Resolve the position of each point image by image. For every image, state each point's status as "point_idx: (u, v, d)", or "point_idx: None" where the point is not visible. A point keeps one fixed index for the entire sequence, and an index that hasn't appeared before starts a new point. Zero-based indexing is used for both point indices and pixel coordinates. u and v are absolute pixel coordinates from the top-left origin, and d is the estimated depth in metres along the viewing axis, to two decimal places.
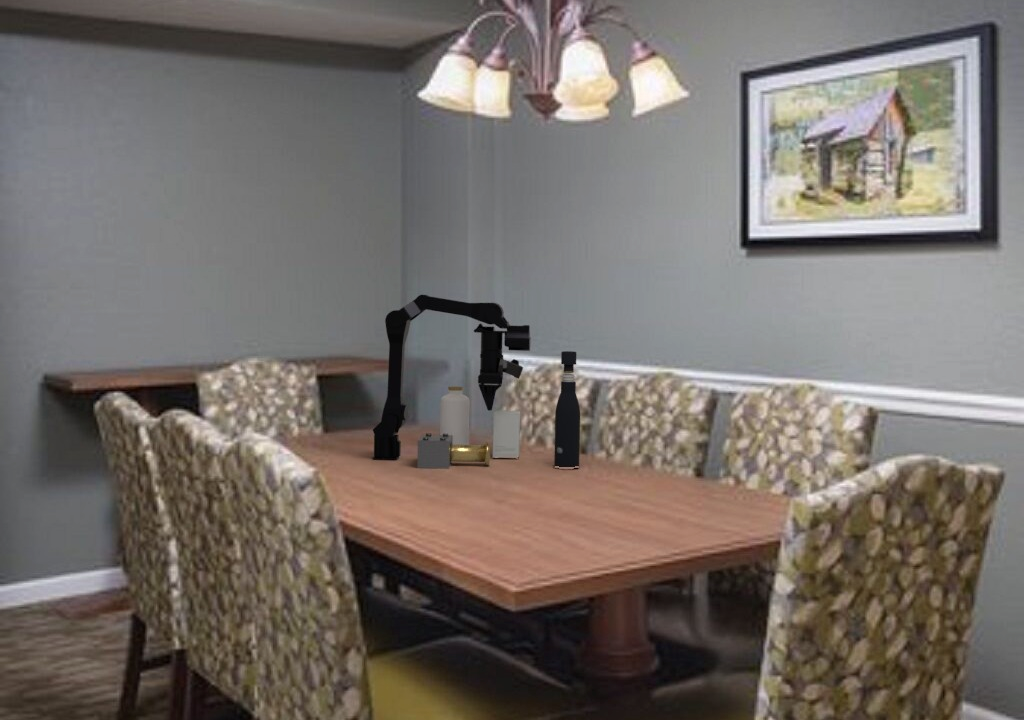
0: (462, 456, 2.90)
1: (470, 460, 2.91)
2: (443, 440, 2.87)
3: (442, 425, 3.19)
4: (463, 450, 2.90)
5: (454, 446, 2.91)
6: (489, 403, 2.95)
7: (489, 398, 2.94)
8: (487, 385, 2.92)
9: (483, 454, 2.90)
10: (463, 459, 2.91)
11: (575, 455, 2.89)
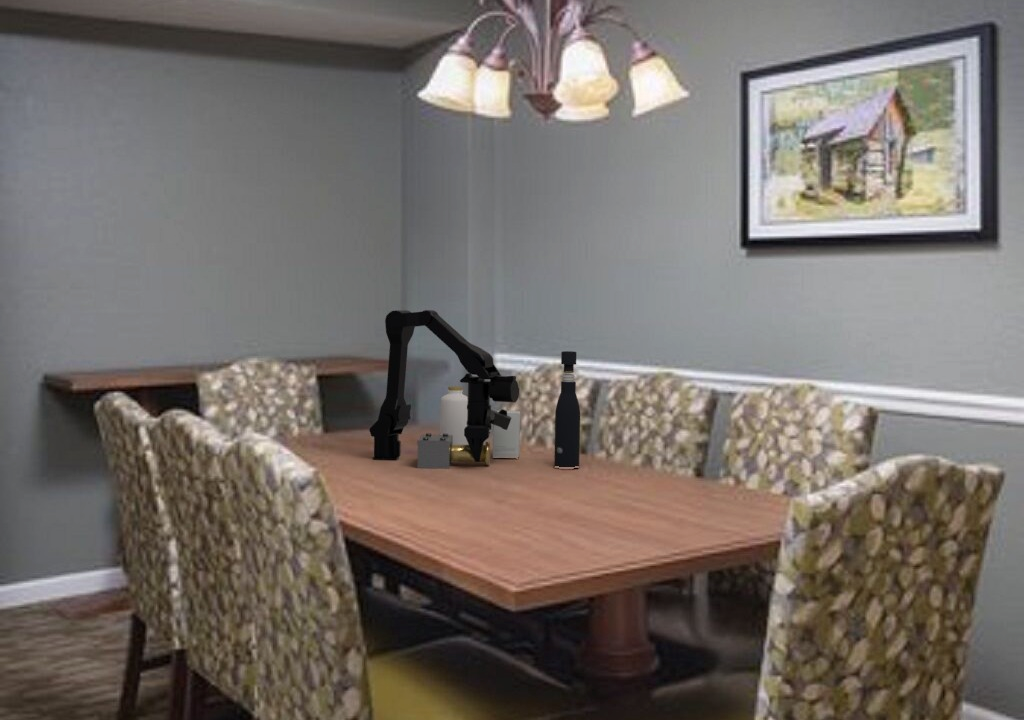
0: (462, 456, 2.90)
1: (470, 460, 2.91)
2: (443, 440, 2.87)
3: (442, 425, 3.19)
4: (463, 450, 2.90)
5: (454, 446, 2.91)
6: (476, 454, 2.89)
7: (476, 450, 2.89)
8: (474, 437, 2.86)
9: (483, 454, 2.90)
10: (463, 459, 2.91)
11: (575, 455, 2.89)
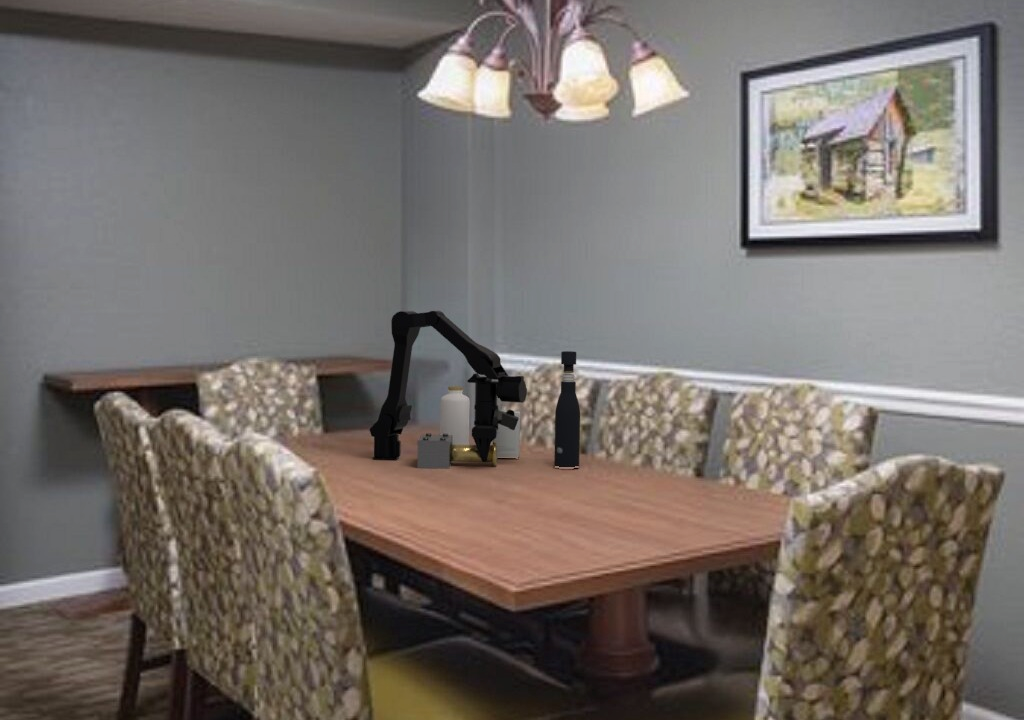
0: (470, 456, 2.90)
1: (477, 460, 2.91)
2: (443, 440, 2.87)
3: (442, 425, 3.19)
4: (470, 450, 2.90)
5: (461, 446, 2.91)
6: (484, 455, 2.89)
7: (484, 450, 2.89)
8: (481, 437, 2.86)
9: (490, 454, 2.90)
10: (470, 459, 2.91)
11: (575, 455, 2.89)
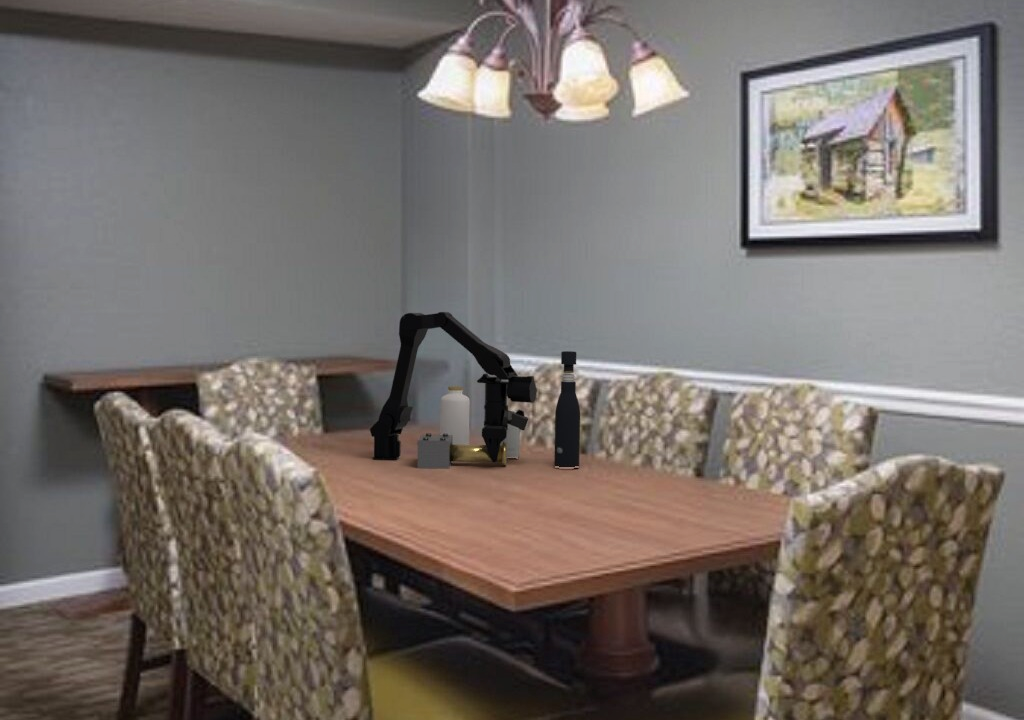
0: (479, 457, 2.90)
1: (487, 460, 2.91)
2: (443, 440, 2.87)
3: (442, 425, 3.19)
4: (480, 450, 2.90)
5: (471, 446, 2.91)
6: (493, 455, 2.89)
7: (494, 450, 2.89)
8: (491, 437, 2.86)
9: (500, 454, 2.90)
10: (480, 459, 2.91)
11: (575, 455, 2.89)
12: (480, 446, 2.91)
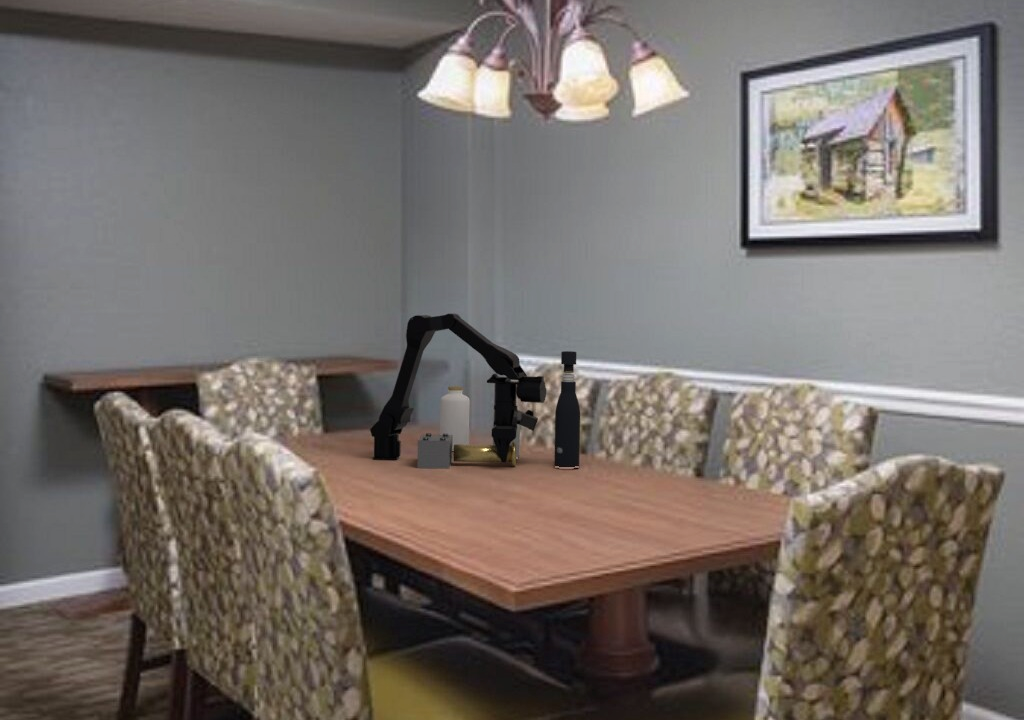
0: (489, 457, 2.90)
1: (496, 461, 2.91)
2: (443, 440, 2.87)
3: (442, 425, 3.19)
4: (489, 451, 2.90)
5: (480, 446, 2.91)
6: (503, 455, 2.89)
7: (503, 450, 2.89)
8: (501, 437, 2.86)
9: (510, 454, 2.90)
10: (490, 459, 2.91)
11: (575, 455, 2.89)
12: (489, 446, 2.91)
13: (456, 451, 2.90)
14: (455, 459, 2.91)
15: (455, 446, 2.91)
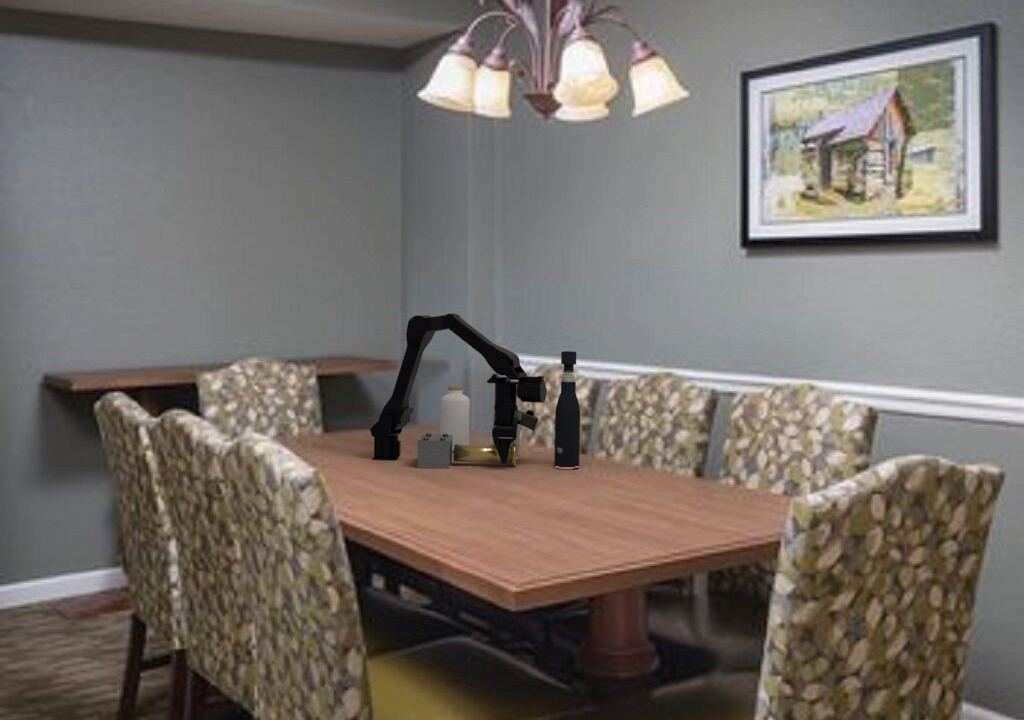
0: (489, 457, 2.90)
1: (497, 461, 2.91)
2: (443, 440, 2.87)
3: (442, 425, 3.19)
4: (490, 451, 2.90)
5: (481, 446, 2.91)
6: (503, 456, 2.87)
7: (503, 451, 2.87)
8: (501, 438, 2.84)
9: (510, 454, 2.90)
10: (490, 459, 2.91)
11: (575, 455, 2.89)
12: (490, 446, 2.91)
13: (456, 451, 2.90)
14: (455, 459, 2.91)
15: (455, 446, 2.91)
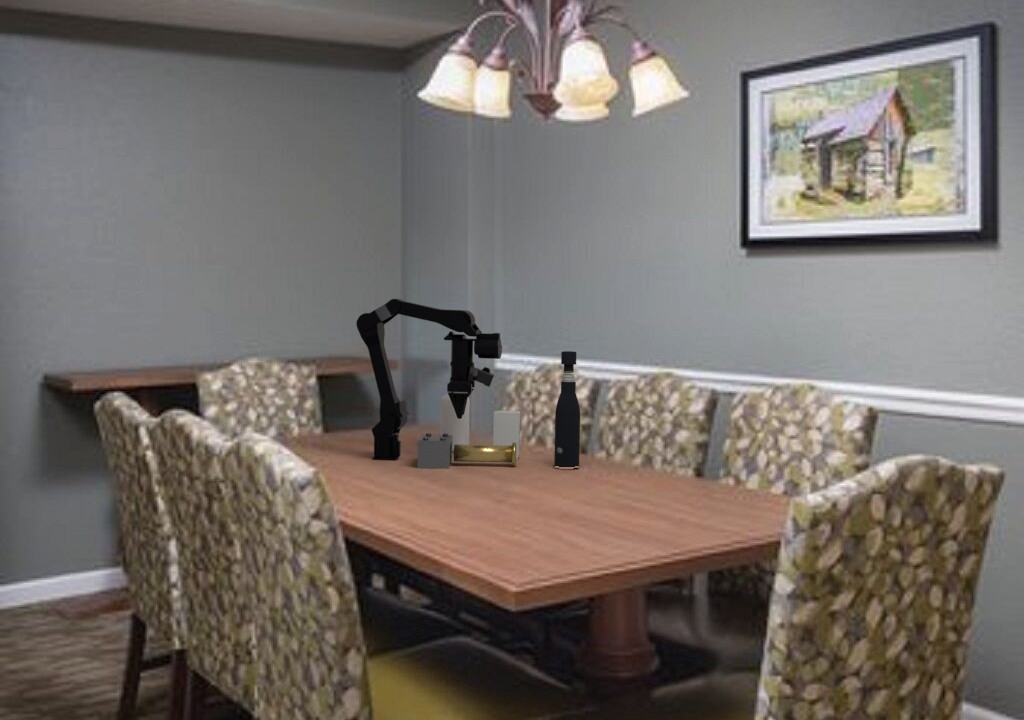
0: (489, 457, 2.90)
1: (497, 461, 2.91)
2: (443, 440, 2.87)
3: (442, 425, 3.19)
4: (490, 451, 2.90)
5: (481, 446, 2.91)
6: (459, 411, 2.94)
7: (459, 406, 2.93)
8: (456, 393, 2.91)
9: (510, 454, 2.90)
10: (490, 459, 2.91)
11: (575, 455, 2.89)
12: (490, 446, 2.91)
13: (456, 451, 2.90)
14: (455, 459, 2.91)
15: (455, 446, 2.91)
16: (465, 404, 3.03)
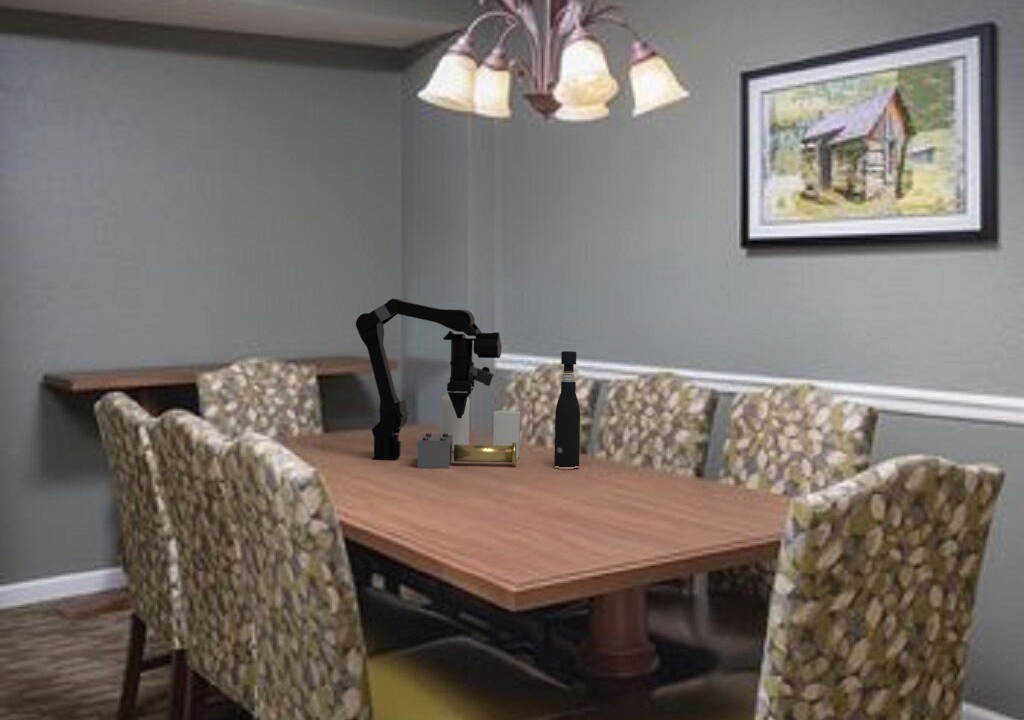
0: (489, 457, 2.90)
1: (497, 461, 2.91)
2: (443, 440, 2.87)
3: (442, 425, 3.19)
4: (490, 451, 2.90)
5: (481, 446, 2.91)
6: (459, 411, 2.94)
7: (459, 406, 2.93)
8: (456, 393, 2.91)
9: (510, 454, 2.90)
10: (490, 459, 2.91)
11: (575, 455, 2.89)
12: (490, 446, 2.91)
13: (456, 451, 2.90)
14: (455, 459, 2.91)
15: (455, 446, 2.91)
16: (465, 404, 3.03)
